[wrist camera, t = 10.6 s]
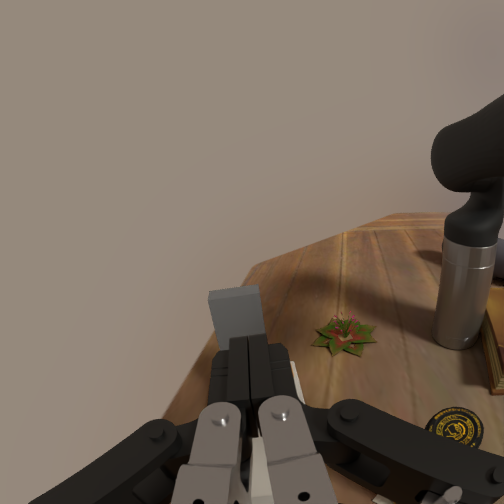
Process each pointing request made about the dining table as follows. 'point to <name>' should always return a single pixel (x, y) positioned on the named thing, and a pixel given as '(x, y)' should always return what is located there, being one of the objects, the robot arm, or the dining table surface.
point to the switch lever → (236, 313)
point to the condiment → (452, 431)
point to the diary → (494, 339)
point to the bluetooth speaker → (497, 259)
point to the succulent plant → (345, 335)
